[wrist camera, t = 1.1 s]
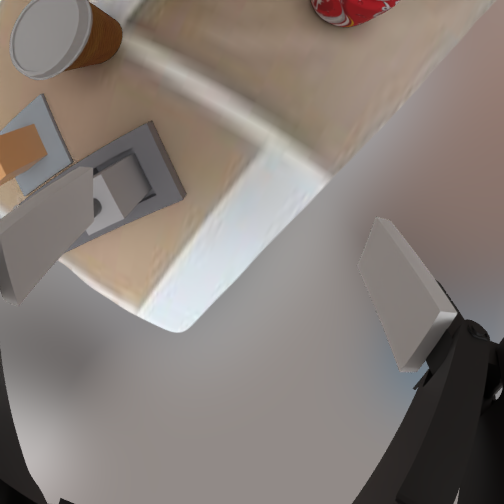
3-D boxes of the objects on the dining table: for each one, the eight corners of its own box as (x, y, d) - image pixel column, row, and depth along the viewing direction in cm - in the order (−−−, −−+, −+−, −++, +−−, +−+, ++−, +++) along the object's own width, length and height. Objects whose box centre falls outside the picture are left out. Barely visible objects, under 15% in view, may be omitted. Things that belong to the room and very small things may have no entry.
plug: (13, 141, 33) (-37, 164, 23) (34, 123, 32) (-19, 142, 22) (26, 170, 35) (-22, 198, 26) (47, 154, 34) (-3, 180, 25)
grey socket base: (26, 199, 38) (-20, 233, 28) (152, 120, 33) (110, 137, 23) (57, 253, 42) (19, 295, 32) (186, 194, 37) (161, 236, 28)
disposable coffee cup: (87, 91, 31) (27, 101, 20) (58, 39, 27) (-4, 36, 16) (148, 44, 28) (100, 31, 18) (115, -9, 24) (62, -33, 14)
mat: (-1, 134, 32) (-4, 135, 32) (43, 93, 30) (40, 93, 30) (26, 195, 37) (24, 196, 37) (73, 161, 35) (71, 163, 35)
